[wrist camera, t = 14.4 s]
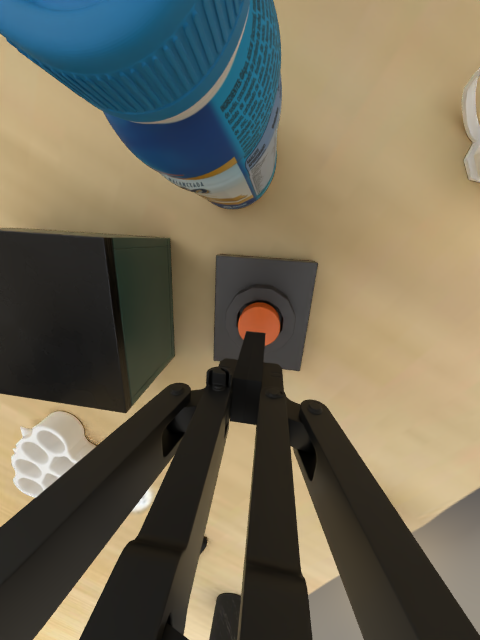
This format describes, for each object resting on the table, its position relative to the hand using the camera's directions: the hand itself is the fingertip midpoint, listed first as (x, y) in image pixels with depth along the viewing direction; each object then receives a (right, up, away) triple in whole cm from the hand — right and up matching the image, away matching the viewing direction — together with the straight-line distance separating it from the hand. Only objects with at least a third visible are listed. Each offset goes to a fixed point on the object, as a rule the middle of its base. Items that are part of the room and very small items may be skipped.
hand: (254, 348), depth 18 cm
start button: (+1, +2, +5) cm, 6 cm away
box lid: (-19, +2, +2) cm, 19 cm away
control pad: (+1, +3, +9) cm, 9 cm away
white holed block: (-31, -20, +22) cm, 43 cm away
